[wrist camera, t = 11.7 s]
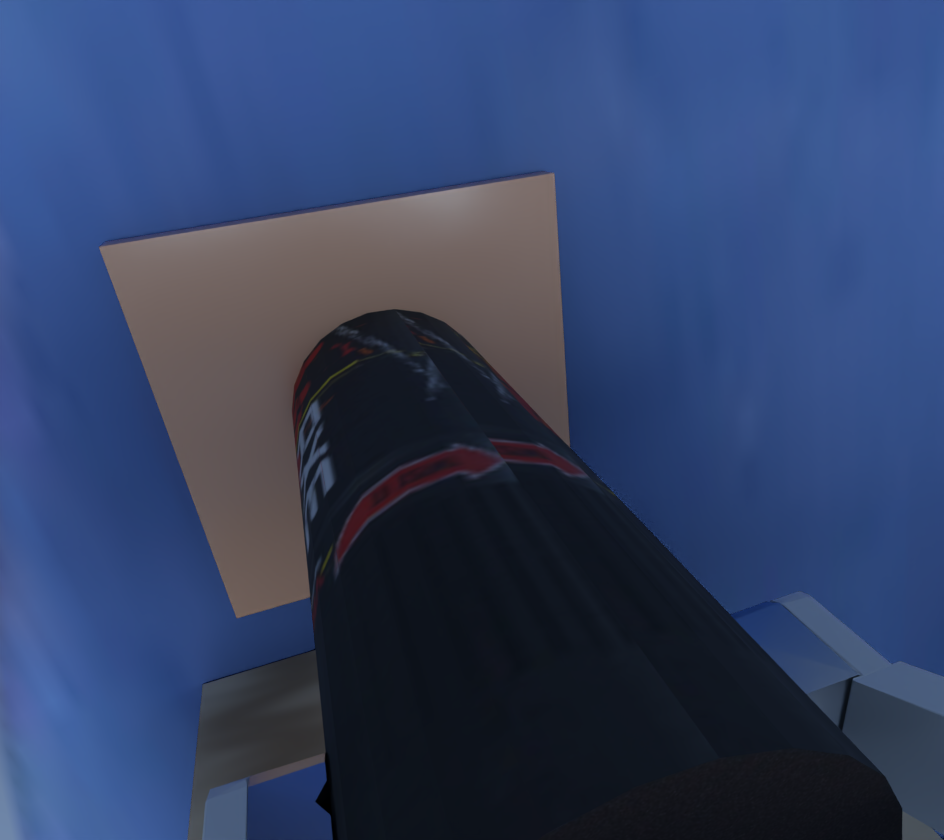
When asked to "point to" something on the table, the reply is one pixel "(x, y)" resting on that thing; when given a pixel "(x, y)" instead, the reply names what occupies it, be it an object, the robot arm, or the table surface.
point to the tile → (312, 318)
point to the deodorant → (528, 630)
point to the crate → (286, 731)
